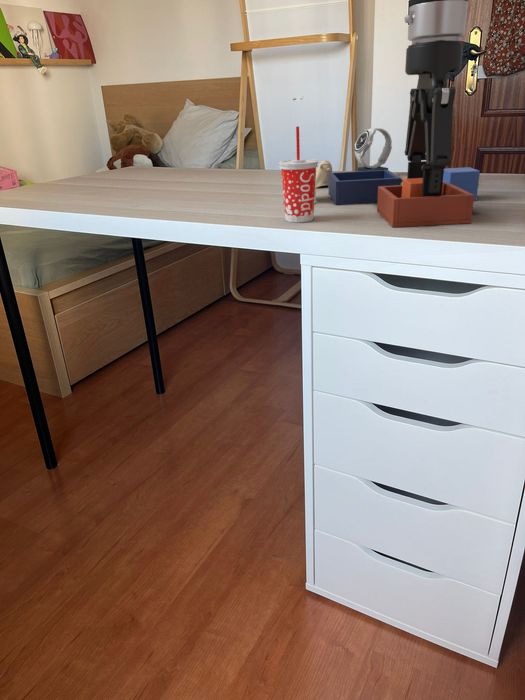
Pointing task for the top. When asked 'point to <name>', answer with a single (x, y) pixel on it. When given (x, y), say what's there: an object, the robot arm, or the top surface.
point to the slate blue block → (463, 179)
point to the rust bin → (425, 207)
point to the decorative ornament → (323, 173)
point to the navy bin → (359, 185)
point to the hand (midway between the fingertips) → (421, 208)
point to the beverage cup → (298, 186)
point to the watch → (364, 144)
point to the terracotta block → (413, 187)
